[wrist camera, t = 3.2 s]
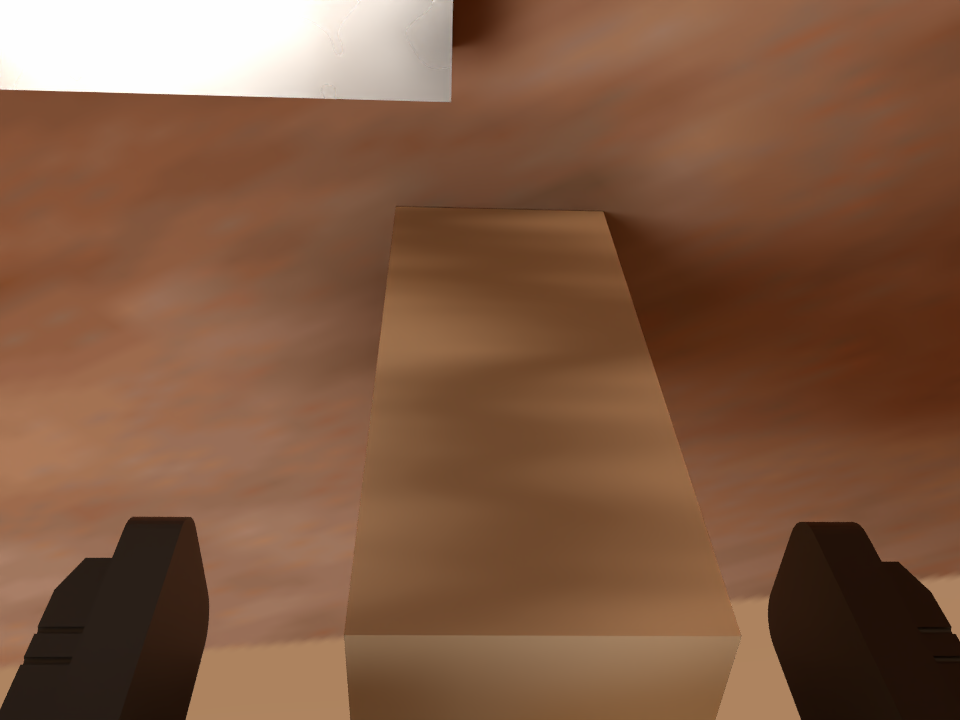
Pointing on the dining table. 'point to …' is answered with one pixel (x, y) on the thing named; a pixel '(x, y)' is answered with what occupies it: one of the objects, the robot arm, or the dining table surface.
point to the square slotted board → (231, 47)
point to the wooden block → (525, 491)
